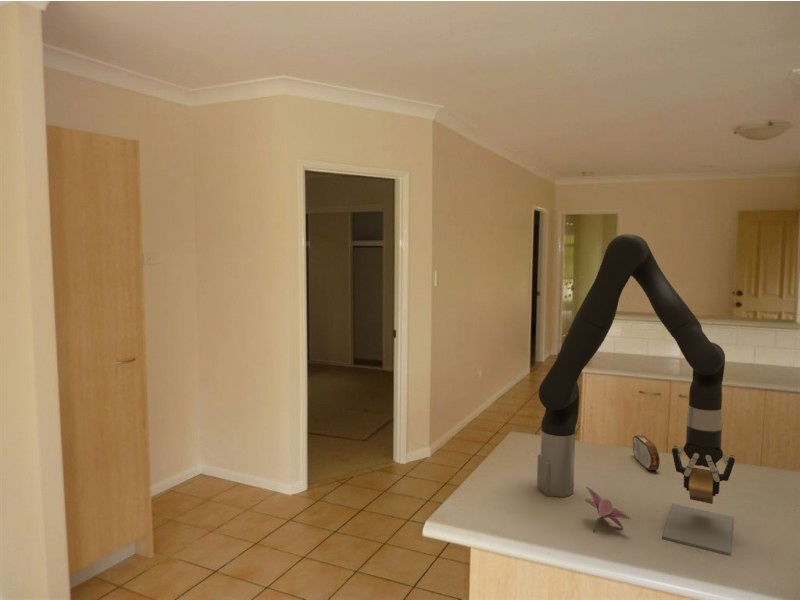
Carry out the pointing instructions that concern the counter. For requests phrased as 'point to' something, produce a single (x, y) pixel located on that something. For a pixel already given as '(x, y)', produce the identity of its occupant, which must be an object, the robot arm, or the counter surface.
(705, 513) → the mat
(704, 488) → the block
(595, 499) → the lily
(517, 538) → the counter surface
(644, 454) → the tin
